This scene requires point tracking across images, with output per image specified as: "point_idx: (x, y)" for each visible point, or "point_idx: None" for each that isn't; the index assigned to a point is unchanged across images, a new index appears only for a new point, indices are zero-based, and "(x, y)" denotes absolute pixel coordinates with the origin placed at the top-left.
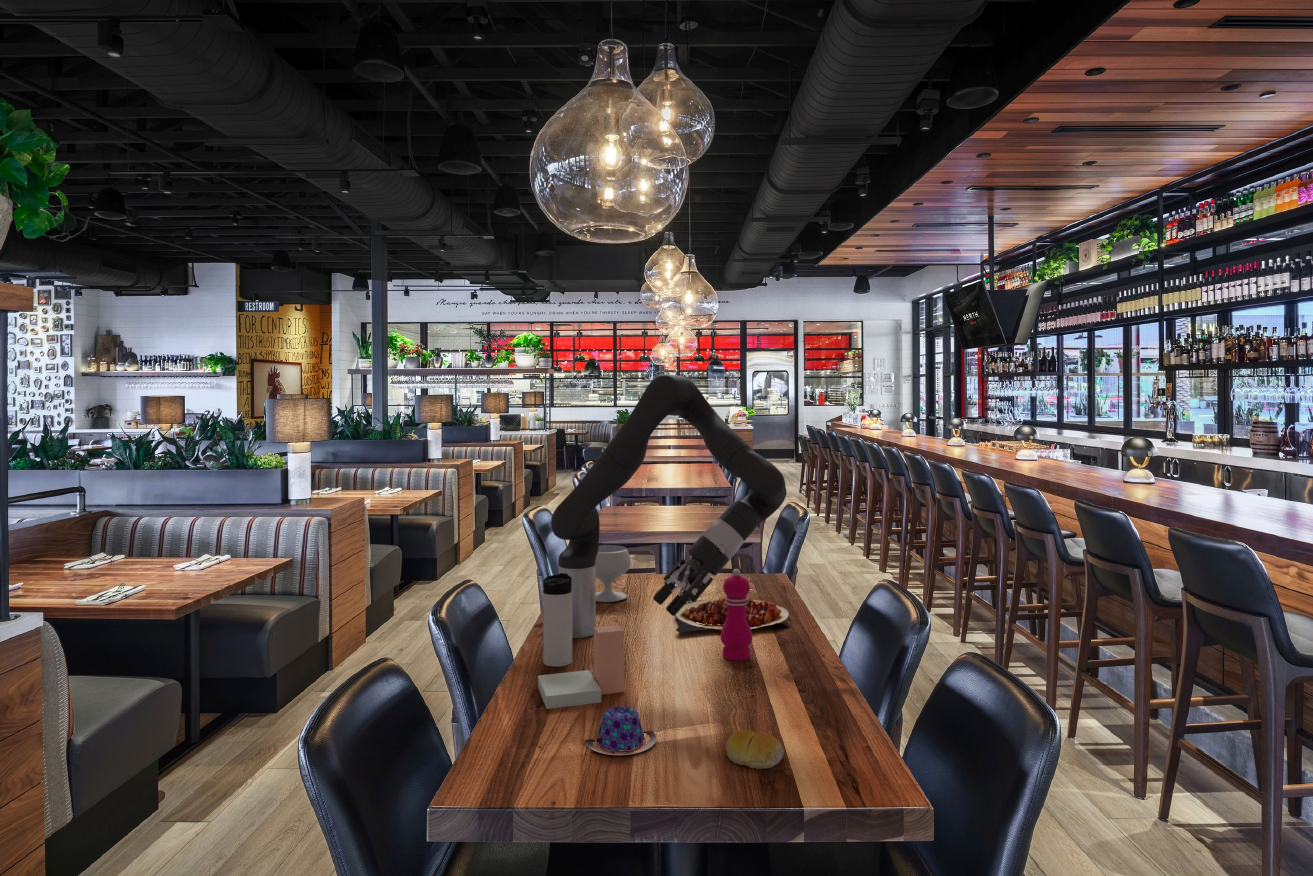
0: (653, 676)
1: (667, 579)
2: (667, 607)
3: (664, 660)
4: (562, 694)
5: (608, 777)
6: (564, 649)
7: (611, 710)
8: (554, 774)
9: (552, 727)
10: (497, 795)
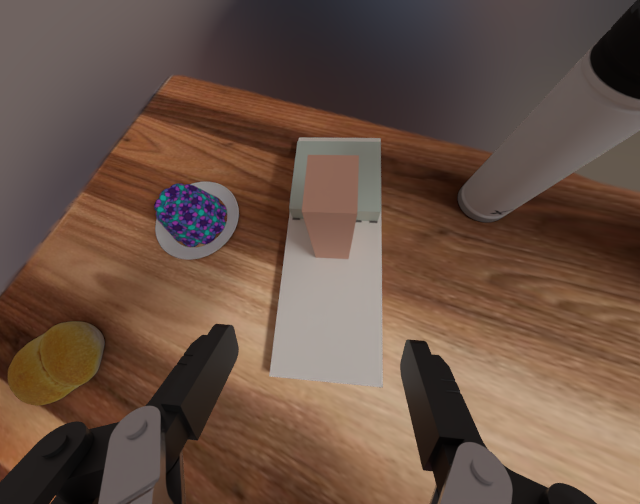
0: (398, 341)
1: (501, 499)
2: (215, 327)
3: (487, 403)
4: (295, 159)
5: (136, 188)
6: (481, 186)
7: (191, 194)
8: (170, 147)
9: (269, 161)
10: (164, 105)
